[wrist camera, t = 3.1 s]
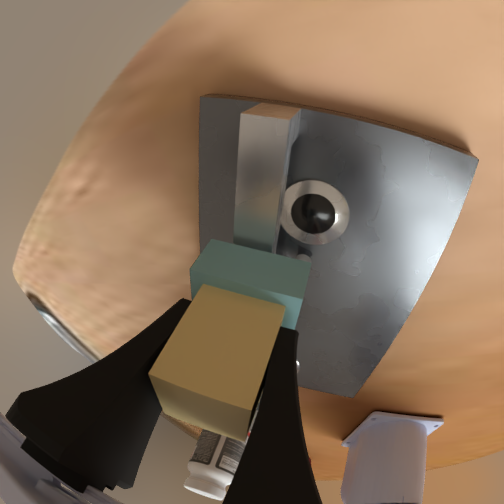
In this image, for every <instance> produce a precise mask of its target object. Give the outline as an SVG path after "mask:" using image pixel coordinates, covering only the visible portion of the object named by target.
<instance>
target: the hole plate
mask: <svg viewBox="0 0 504 504" xmlns="http://www.w3.org/2000/svg"><path fill="white" fill-rule="evenodd" d="M260 103H269V104H276V105H282V106H289V107H295V108H301V115H300V123H299V130H298V137H297V138H296V140H295V141H294V143H293V144H292V146H291V153H290V161H289V168H288V175H287V182H286V189H285V196H284V203H283V210H282V217H281V224H280V230H279V237H278V243H277V250H276V254H277V255H281V256H285V257H290V258H294V259H295V258H296V256H297V255H300V254H305V255H307V256H309V257H310V259H311V263H312V264H311V268H310V272H309V277H308V281H307V285H306V289H305V293H304V297H303V301H302V305H301V308H300V312H299V316H298V319H297V323H296V326H295V330H297V331H298V333H299V336H298V344H297V382H298V386H300V387H304V388H308V389H312V390H317V391H321V392H326V393H331V394H335V395H340V396H345V397H351V398H353V397H354V396H355V395H356V394H357V392H358V391H359V390H360V388H361V387H362V386H363V384H364V383H365V381H366V380H367V379H368V377H369V376H370V374H371V373H372V372H373V370H374V369H375V367H376V366H377V365H378V363H379V362H380V360H381V359H382V357H383V356H384V354H385V353H386V351H387V350H388V348H389V347H390V345H391V344H392V342H393V340H394V339H395V337H396V336H397V334H398V333H399V331H400V329H401V328H402V326H403V324H404V323H405V321H406V319H407V318H408V316H409V314H410V313H411V311H412V309H413V308H414V306H415V304H416V302H417V300H418V299H419V297H420V295H421V293H422V291H423V290H424V288H425V286H426V284H427V282H428V280H429V278H430V276H431V274H432V273H433V271H434V269H435V267H436V265H437V263H438V260H439V258H440V256H441V254H442V252H443V250H444V248H445V246H446V244H447V241H448V239H449V237H450V235H451V233H452V230H453V228H454V226H455V223H456V221H457V219H458V216H459V214H460V211H461V209H462V206H463V204H464V201H465V199H466V196H467V193H468V191H469V188H470V185H471V182H472V179H473V177H474V174H475V171H476V168H477V165H478V161H479V159H478V158H477V157H476V156H474V155H473V154H472V153H471V152H468V151H466V150H463V149H461V148H458V147H456V146H453V145H450V144H448V143H445V142H442V141H439V140H437V139H434V138H431V137H428V136H425V135H422V134H419V133H416V132H413V131H409V130H406V129H403V128H399V127H396V126H393V125H389V124H385V123H382V122H378V121H374V120H371V119H367V118H363V117H359V116H354V115H350V114H346V113H341V112H337V111H332V110H327V109H322V108H317V107H311V106H306V105H300V104H294V103H288V102H281V101H274V100H267V99H259V98H250V97H241V96H230V95H218V94H208V95H204V96H201V97H200V118H199V228H200V254H201V253H202V251H203V250H204V248H205V247H206V246H207V244H208V243H209V242H210V240H211V239H215V240H219V241H223V242H228V243H232V244H233V233H234V214H235V196H236V179H237V162H238V146H239V131H240V116H241V113H242V112H244V111H246V110H248V109H250V108H252V107H254V106H256V105H258V104H260Z"/></svg>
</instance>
